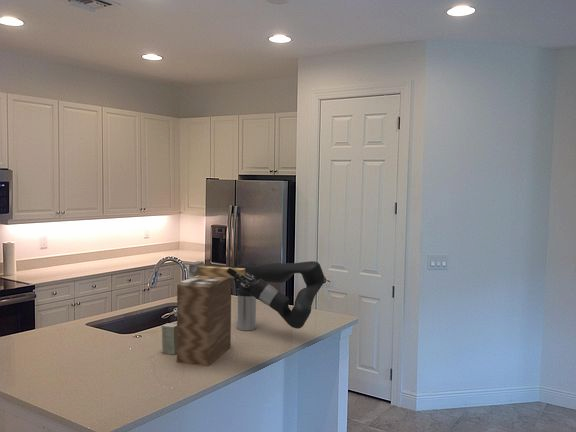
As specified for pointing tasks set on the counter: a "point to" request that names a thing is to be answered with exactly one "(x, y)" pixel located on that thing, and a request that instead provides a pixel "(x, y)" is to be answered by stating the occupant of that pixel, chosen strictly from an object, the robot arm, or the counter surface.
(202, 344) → the zigzag wood block
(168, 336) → the skincare box
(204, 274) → the wood block with plate
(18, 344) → the counter surface
